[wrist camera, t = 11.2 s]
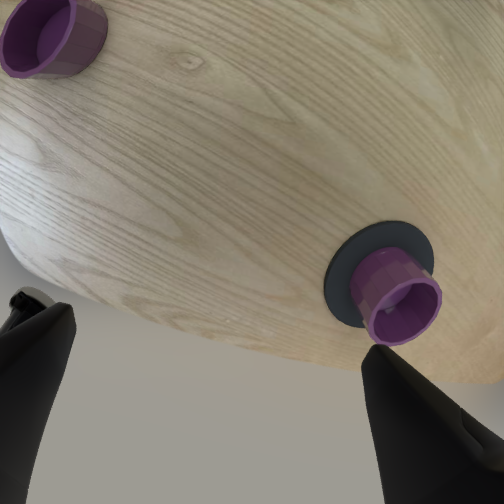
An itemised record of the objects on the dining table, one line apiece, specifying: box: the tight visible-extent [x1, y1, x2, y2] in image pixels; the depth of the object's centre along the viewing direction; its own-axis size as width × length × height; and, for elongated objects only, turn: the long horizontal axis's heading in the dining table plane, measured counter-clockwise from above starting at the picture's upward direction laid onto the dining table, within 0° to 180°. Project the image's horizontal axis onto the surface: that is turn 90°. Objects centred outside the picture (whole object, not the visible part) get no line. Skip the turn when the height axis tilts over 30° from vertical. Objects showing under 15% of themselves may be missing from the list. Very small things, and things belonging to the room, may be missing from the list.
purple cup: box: [349, 247, 442, 347], centre depth 20 cm, size 6×6×4 cm
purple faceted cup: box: [0, 0, 108, 79], centre depth 11 cm, size 6×6×4 cm
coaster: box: [324, 221, 434, 328], centre depth 23 cm, size 10×10×1 cm
